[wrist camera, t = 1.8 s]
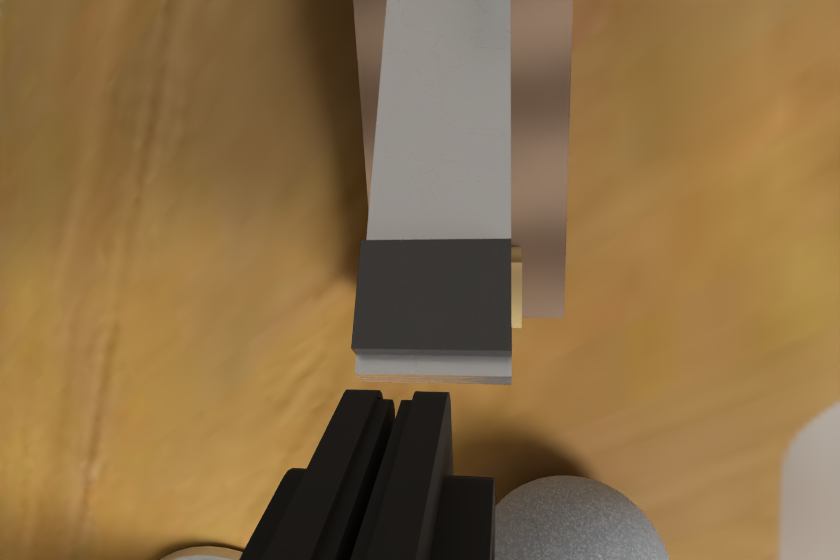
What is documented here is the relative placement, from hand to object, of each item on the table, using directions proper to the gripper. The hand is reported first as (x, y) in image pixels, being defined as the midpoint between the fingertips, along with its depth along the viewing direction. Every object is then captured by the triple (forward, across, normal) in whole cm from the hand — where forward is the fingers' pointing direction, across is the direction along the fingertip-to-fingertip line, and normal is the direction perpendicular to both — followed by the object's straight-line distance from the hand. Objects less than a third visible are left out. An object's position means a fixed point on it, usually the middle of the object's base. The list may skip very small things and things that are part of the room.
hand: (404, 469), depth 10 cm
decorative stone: (+23, -4, +19) cm, 30 cm away
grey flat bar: (+12, 0, -4) cm, 13 cm away
